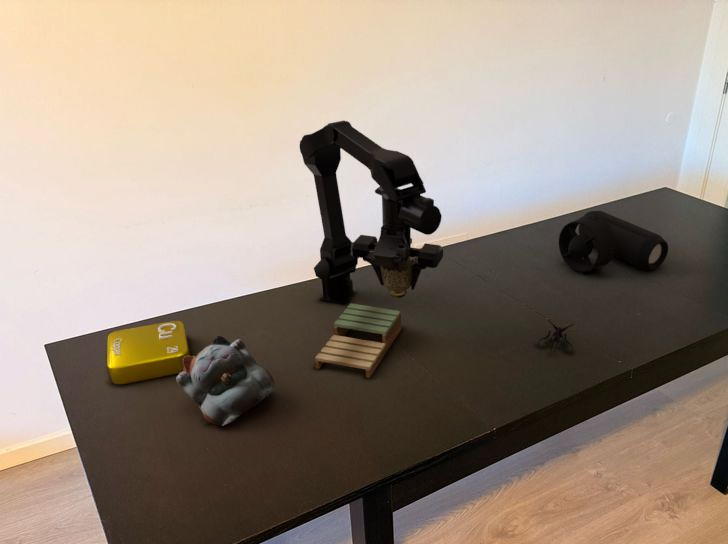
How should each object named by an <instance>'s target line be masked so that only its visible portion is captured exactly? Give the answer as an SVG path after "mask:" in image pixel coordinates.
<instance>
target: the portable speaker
mask: <svg viewBox="0 0 728 544" xmlns="http://www.w3.org/2000/svg"><path fill="white" fill-rule="evenodd" d="M590 214H592V215H597V216H599V217H601V218H603V219H604V220H605V221H606V222H607V223H608V224H609V225H610V227H611V228H612V230H613V232H614V235H615V240H616V249H615V253H614V256H613V257H616V258H618V259H619V260H622V261H624V262H626V263H628V264H630V265H632V266H634V267H637V268H638V269H641V270H646V271H647V270H651V271H652V270H653V271H655V270H656V269H659V268H660V267H661V265H663V263H664V261H665V260H666V259H667V256H668V252H669V243H668V242H667V240H665V239H664V238H663V237H662V235H660V234H658V233H656V232H653V231H651V230H648V229H646V228H644V227H641V226H639V225H637V224H634V223H632V222H629V221H627V220H625V219H622V218H620V217H617V216H616V215H612V214H611V213H607V212H605V211H602V210H590V211H588V212H586V213H585V214H584V215H583V216H585V215H590ZM580 234H586V235H587V236H589V237H590V238H591V237H593V236H594V235H593V233H592V232H591V231H590V230H589V229H588V228H587V227H585V226H584V225H581V224H579V225H578V235H580ZM592 243H593V248H597V249H598V246H597V242H596V239H593V240H592Z"/></svg>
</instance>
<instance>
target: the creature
mask: <svg viewBox="0 0 728 544" xmlns="http://www.w3.org/2000/svg"><path fill="white" fill-rule="evenodd" d="M547 321H548V322H549V323H550V324H551V325H552V326H553V328H554V330H555V332H553V335H551V330H548V331H547V332H548V334H547V335H546V336H544V337H542V338H541V339H540V338H539V340H538V341H537V343H536V344H537V347H538V348H539V349H543V348H545V347H546V345H544V346H540V345H539V342H541V341H543V340H546V339H549V337H550V339H549V343H551V345H548V344H547V347H550V353H552V351H553V354H555V353H556V349H557V348H558V345H559V343H560V340H561V338H562V345H563V346H565V343H567V344H568V345H569V346H570V347H571V351H570V352H569V354H571V353H572V352H573V351H574V346H573V345H572V343H570V342H569V341H568V340H567V333H564V335H563V332H565V331H566V330H567V329H568V328H571V327H572V326H574V325H575V323H572V324H569V325H568V326H566V327H563V328H562V327H560V326H559V327H558V326H556V325H555V324H554V323H553V322H552V321H551V320H549V319H547ZM554 343H555V346H554ZM553 347H554V350H553ZM560 349H562V350H563V351H564V352H565V353H566V354H568V352H567V351H566V350H565V349H564V348H563V347H560Z"/></svg>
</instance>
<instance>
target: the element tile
mask: <svg viewBox="0 0 728 544" xmlns="http://www.w3.org/2000/svg"><path fill="white" fill-rule="evenodd" d="M189 348H190V347H189V342H188V337H187V333H186V329H185V325H184V323H183V322H182V321H181V320H171V321H166V322H160V323H155V324H153V323H152V324H148V325H141V326H136V327H131V328H126V329H119V330H114V331H111V333H109V334H108V336H107V350H106V351H107V355H106V357H107V358H106V359H107V360H106V365H107V369H108V372H109V375H110V378H111V381H112V383H113V384H116V385H126V384H133V383H136V382H138V383H139V382H141V381H143V382H144V381H147V380H151V379H153V380H154V379H157V378H163V377H167V376H173V375H177V374H178V375H179V373H180V371H181V370H182V366H183V357H186V356H191V354H190V349H189Z"/></svg>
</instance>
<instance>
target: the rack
mask: <svg viewBox="0 0 728 544" xmlns="http://www.w3.org/2000/svg"><path fill="white" fill-rule="evenodd" d="M346 307H347V308H345V309H344V311H342V313H341V314H340V315H339V316H338V319H336V320H335V321H334V323H333V335H331V337H330V338H329V340H328V341H327V342H325V345H324V346H323V347H322V348H321V350H320V352H318V354H316V356H315V358H314V359H315V361H314V367H315V369H318V370H319V369H320V368H321V367H322V366H323V364H324V363H327V364H333V365H339V366H343V367H344V366H345V367H349V368H356V369H362V370H365V378H368V379H370V378H371V377H372V375H373V374H374V372H375V371H376V369H377V367H378V366H379V365H380V363H381V361H382V360H383V358H384V357H385V355H386V354H387V352H388V350H389V348H390V347H391V346H392V344H393V343H394V341H395V340H396V339H397V336H398V335H399V334H400V332H401V330H402V313H401V310H397V309H395V310H394V309H391V308H390V309H389V308H382V307H378V306H377V307H376V306H371V305H363V304H357V303H349V304H348V306H346ZM350 330H354V331H360V332H367V333H373V334H379V335H381V337H382V342H379V341H373V340H366V339H361V338H356V337H355V338H354V337H348V336H346V335H347V333H348V332H349V331H350Z"/></svg>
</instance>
